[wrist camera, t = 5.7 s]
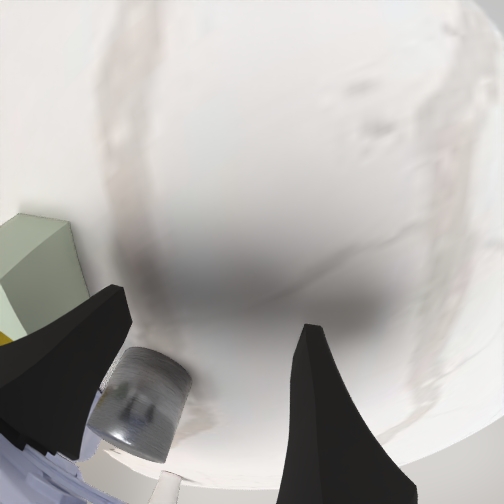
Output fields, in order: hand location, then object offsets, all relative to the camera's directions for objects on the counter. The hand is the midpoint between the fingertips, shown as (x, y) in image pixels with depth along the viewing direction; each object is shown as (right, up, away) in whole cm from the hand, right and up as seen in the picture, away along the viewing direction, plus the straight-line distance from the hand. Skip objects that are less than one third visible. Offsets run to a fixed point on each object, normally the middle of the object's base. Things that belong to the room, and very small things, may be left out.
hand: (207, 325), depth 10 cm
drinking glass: (-18, -52, +37) cm, 66 cm away
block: (-10, +3, +2) cm, 10 cm away
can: (-5, -5, +6) cm, 9 cm away
